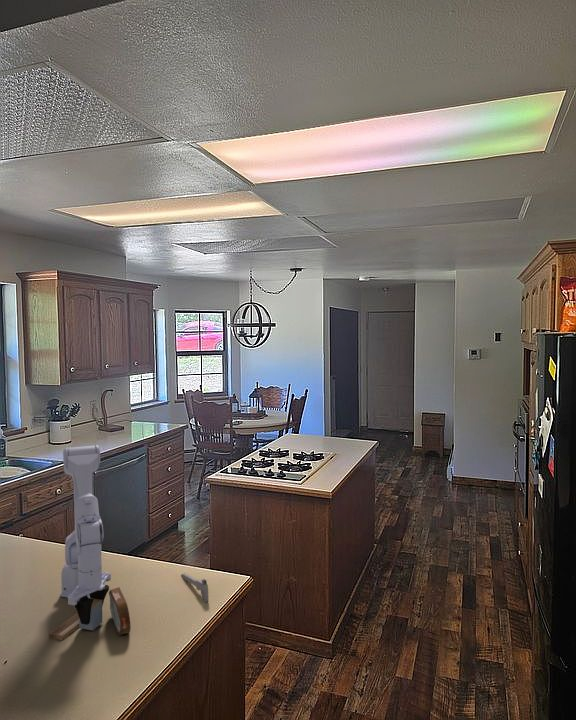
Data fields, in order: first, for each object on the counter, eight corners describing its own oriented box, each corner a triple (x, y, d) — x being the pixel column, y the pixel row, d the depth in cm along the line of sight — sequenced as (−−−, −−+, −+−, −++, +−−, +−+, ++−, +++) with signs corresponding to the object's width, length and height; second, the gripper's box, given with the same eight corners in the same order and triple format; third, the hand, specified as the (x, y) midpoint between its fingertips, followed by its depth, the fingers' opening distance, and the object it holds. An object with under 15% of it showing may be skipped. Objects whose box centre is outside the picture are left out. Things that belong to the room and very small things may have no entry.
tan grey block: (79, 628, 135) (78, 605, 134) (89, 619, 138) (89, 597, 138) (92, 630, 133) (92, 607, 133) (102, 622, 137) (102, 600, 137)
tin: (131, 638, 131) (131, 605, 130) (118, 642, 129) (118, 608, 129) (119, 611, 144) (119, 581, 143) (107, 614, 142) (107, 584, 142)
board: (49, 637, 131) (48, 633, 131) (85, 609, 144) (85, 606, 144) (62, 640, 130) (62, 635, 130) (98, 612, 143) (98, 608, 143)
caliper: (208, 603, 149) (208, 581, 148) (205, 604, 148) (204, 582, 148) (183, 575, 166) (183, 556, 166) (180, 576, 165) (180, 557, 165)
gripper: (84, 582, 127) (85, 636, 128) (119, 558, 141) (120, 607, 142) (60, 578, 129) (61, 631, 130) (98, 555, 143) (98, 603, 144)
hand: (90, 618), depth 136 cm, fingers closed on tan grey block, 4 cm apart
